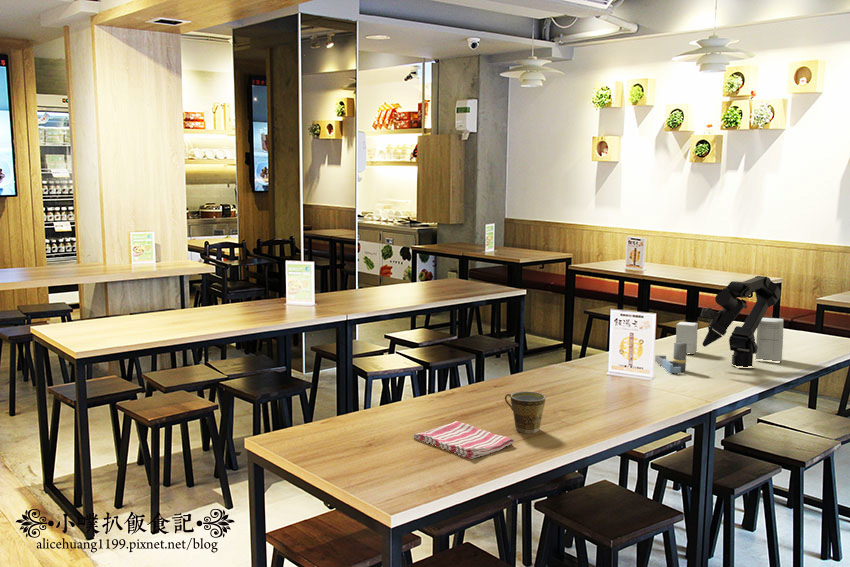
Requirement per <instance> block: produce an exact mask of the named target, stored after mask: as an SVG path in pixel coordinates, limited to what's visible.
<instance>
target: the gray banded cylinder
mask: <svg viewBox="0 0 850 567" xmlns="http://www.w3.org/2000/svg"><path fill="white" fill-rule="evenodd" d="M686 348H687V344H686V343H680V342H677V343H676V342H674V343H673V358H672V361H673V367H681V371H685V372H686V366H687V363H686V362H687V354H686Z"/></svg>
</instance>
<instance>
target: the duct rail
mask: <svg viewBox="0 0 850 567" xmlns="http://www.w3.org/2000/svg"><path fill="white" fill-rule="evenodd" d="M654 358H655V359H654V362H655V363H656V362H657V363H658V364H657V363H656V364H657V365H659V364H660V365H661V366H662V367H663V368H665V369H666V370H667V371H668V372H669V373H681V374H682V372H681V367H673V360H667V355H659V354H657V355H655V356H654ZM660 365H659V366H660ZM661 366H660V367H661ZM662 367H661V368H662ZM663 368H662V369H663ZM665 369H664V370H665ZM666 370H665V371H666ZM667 371H666V372H667ZM668 372H667V373H668ZM669 373H668V374H669Z"/></svg>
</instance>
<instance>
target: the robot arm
mask: <svg viewBox="0 0 850 567" xmlns="http://www.w3.org/2000/svg"><path fill="white" fill-rule="evenodd" d="M752 292H754V294H755V297H756V302H755V303H754V305H753V307H752V309H751V311H750V312H749V314H748V316H747V317H746V319H745V320H744V323H743V324H742V326H738V325H737V326H735V327H734V329H733V331H732V332H731V335H730V336H729V338H728V342H729V350H730V351H733V354H732V356H731V364H733V365H736V366H743V367H748V366H752V367H753V362H754V360H753V358H754V355H756V353H757V349H758V347H757V345H756V343H757V342H756V338H755V332H757V327H758V325H759V323H760V322H761V320H762V318H764V317H765V315H766V312H767V311H768V309H769V308H771V307H773V306H775V305H776V304H777V302H778V301H779V300H780V298H781V296H782V291H781V290H780V287H779V286H778V285H777V283H775V282H773V281H772V280H771V279H770V277H768V276H763V275H762V276H761V275H756V276H755V277H752V278H749V279H747V280H743V281H737V280H736V281H735V280H734V281H733V280H732V281H730V282H729V283H728V285H727V286H726V287H725V288H724V287H723V288H722V291H719V292H717V294H716V295H715V298H714V300H715V303H716V304H717V305H719V306H720V307H721V308H722V309H720V310H719V311H718V312H717V311H713V308H711V307H709V306H708V307H707V308H702V310H701V313H700V317H702V318H707V319H711V320H710V321H709V323H708V325H707V329H708V332H707V334H706V336H705V338H704V340H703V341H702V346H703V347H704V348H705V347H707V346H709V345H710V344H712V343H714V342H716V341H718V340H719V339H721V338H723V337H724V336H725V335H726V333H727V330H728V328H729V327H730V326H731V325H732V324H733V322H734V321H735V319H736V318H737V317H738V316H739V314H740V313H741V312H742V310H744V309H747V308H748V305H747V301H746V300H745V299H747V298H748V297H749V296H751V295H752ZM740 298H742V299H740Z"/></svg>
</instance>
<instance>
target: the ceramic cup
mask: <svg viewBox="0 0 850 567" xmlns="http://www.w3.org/2000/svg"><path fill="white" fill-rule="evenodd" d="M507 397H510V402H509V401H508V399H507ZM504 401H505V403H506V404H507V405H508V406H509V407H510V409H511V410H512V412H513V419H514V426H515V429H517V430H516V431H517V432H518V431H519V432H520V433H522V434H535V432H536V433H538V432H540V427H541V422H542V418H543V412H544V409H545V404H546V396H545V395H544V394H543V393H541V392H535V391H518V392H514V393H507V394H505V397H504ZM510 403H511V404H510ZM537 431H538V432H537ZM519 432H518V433H519Z"/></svg>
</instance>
